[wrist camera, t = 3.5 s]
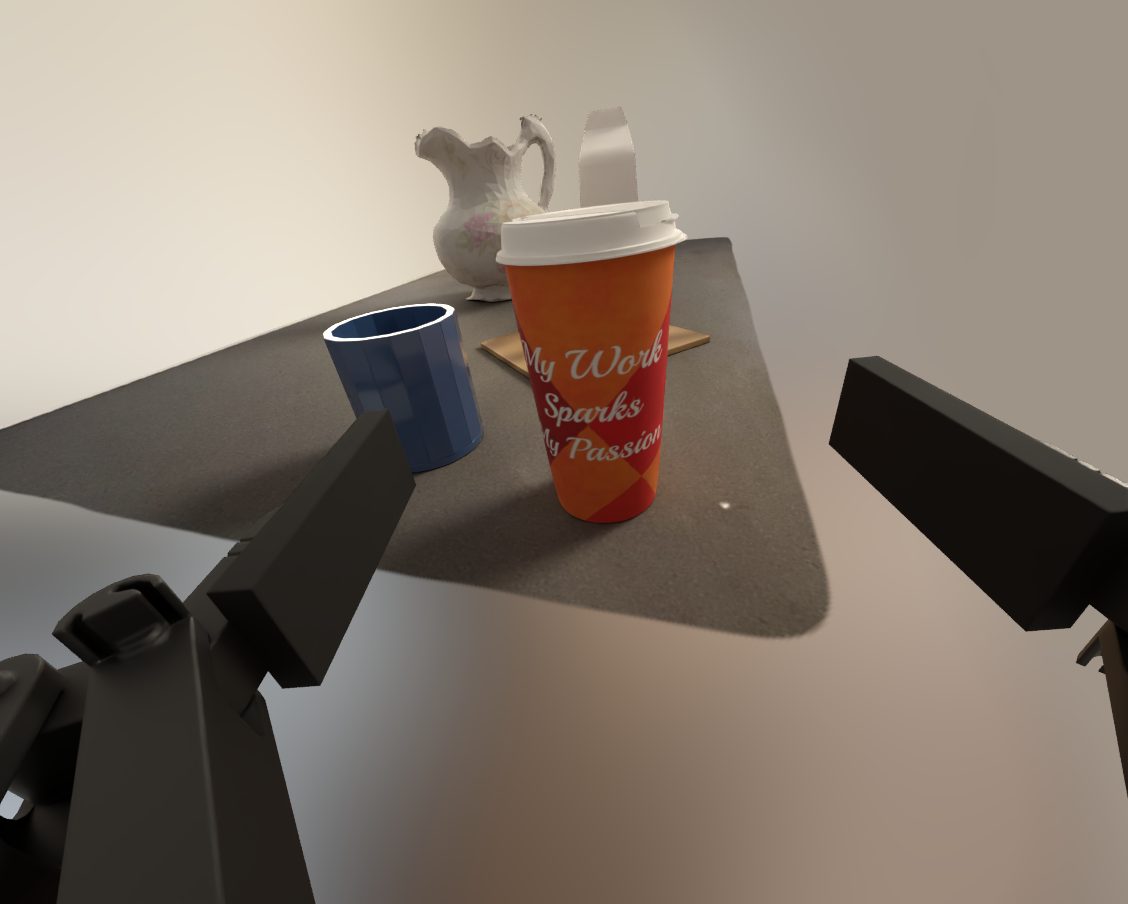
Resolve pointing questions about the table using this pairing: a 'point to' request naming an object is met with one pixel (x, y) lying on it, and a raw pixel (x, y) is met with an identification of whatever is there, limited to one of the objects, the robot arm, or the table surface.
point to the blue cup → (411, 379)
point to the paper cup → (596, 345)
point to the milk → (607, 160)
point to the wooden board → (514, 356)
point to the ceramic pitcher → (483, 200)
